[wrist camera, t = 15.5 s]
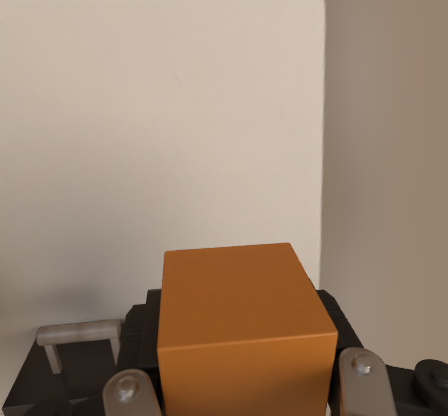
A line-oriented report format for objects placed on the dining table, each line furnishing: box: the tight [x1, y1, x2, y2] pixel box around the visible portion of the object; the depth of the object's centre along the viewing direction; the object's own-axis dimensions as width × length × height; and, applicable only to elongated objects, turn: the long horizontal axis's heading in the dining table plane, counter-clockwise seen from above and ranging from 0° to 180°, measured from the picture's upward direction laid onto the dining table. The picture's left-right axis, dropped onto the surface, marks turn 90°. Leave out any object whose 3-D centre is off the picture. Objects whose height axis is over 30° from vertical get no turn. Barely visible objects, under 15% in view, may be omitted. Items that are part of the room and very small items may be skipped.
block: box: [157, 243, 338, 416], centre depth 12 cm, size 5×5×5 cm
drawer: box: [2, 319, 125, 416], centre depth 32 cm, size 17×11×8 cm
